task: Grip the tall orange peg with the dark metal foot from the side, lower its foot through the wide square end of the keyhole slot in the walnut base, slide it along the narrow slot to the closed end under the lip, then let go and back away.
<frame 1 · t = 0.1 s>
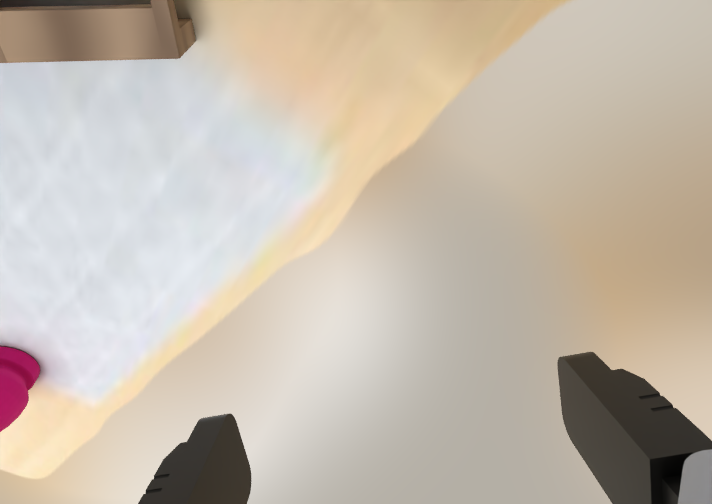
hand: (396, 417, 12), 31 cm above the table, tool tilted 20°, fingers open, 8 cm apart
pepper mill: (11, 363, 54), on the table
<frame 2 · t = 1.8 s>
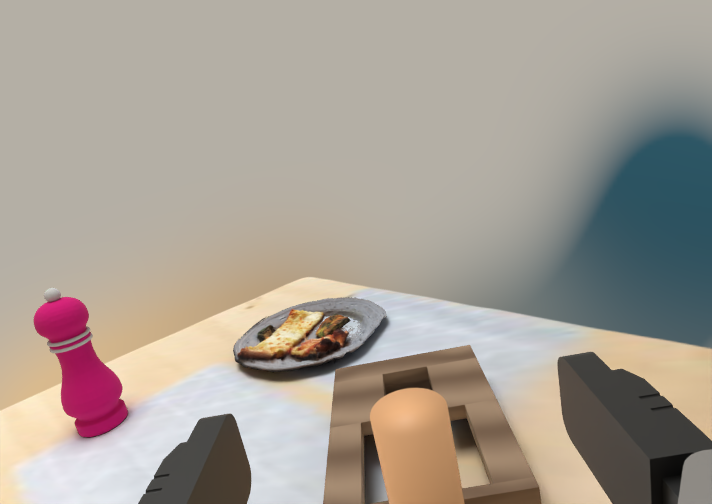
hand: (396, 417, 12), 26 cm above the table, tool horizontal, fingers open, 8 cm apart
keyhole base: (420, 457, 46), on the table
pepper mill: (104, 423, 65), on the table
food plate: (312, 341, 78), on the table
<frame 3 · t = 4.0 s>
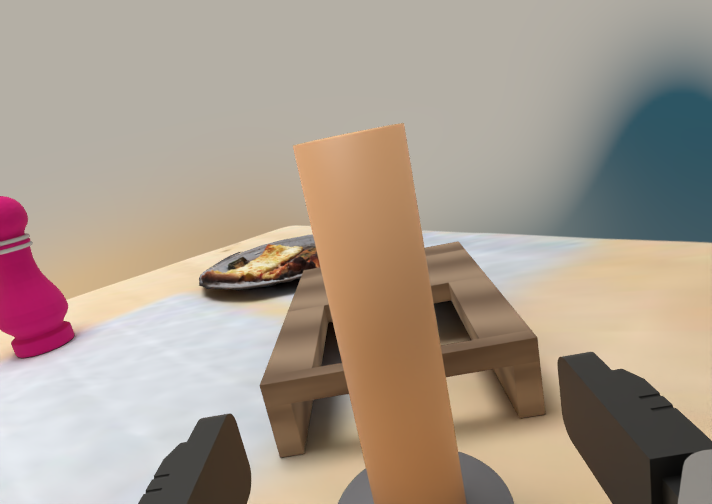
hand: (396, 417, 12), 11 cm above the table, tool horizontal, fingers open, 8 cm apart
keyhole base: (396, 350, 39), on the table
pepper mill: (47, 346, 58), on the table
food plate: (287, 271, 70), on the table
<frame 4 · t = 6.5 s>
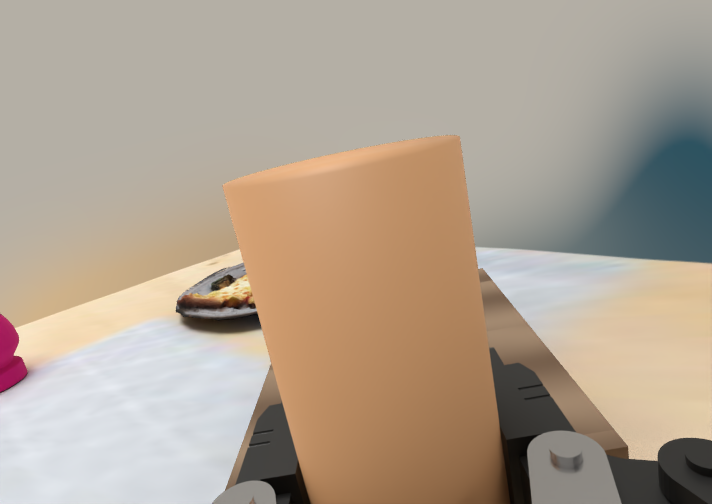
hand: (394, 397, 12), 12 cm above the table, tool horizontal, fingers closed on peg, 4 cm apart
keyhole base: (409, 417, 30), on the table
food plate: (278, 291, 61), on the table
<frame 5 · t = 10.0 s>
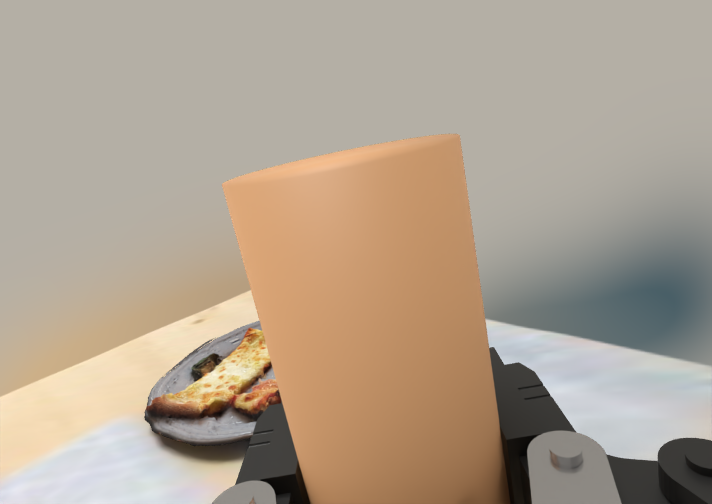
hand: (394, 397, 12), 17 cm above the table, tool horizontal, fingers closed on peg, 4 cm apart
food plate: (272, 380, 51), on the table
when the fingers open (12 cm above the table, at t = 13.8 s): peg stays where it is, resting in keyhole base.
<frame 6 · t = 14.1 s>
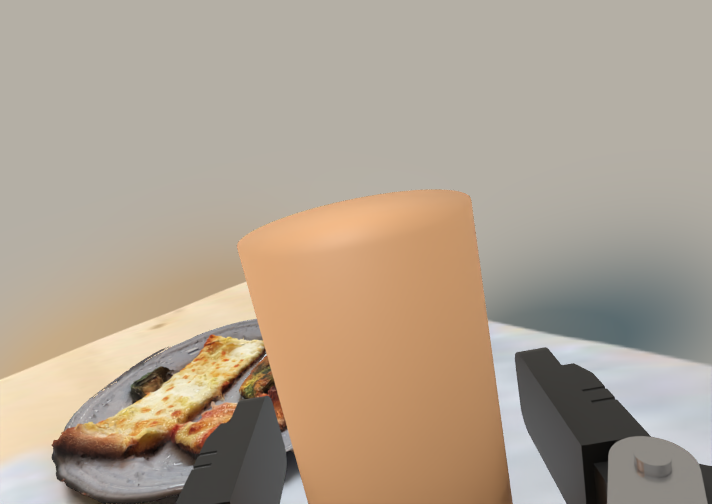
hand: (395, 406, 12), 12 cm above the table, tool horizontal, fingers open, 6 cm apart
food plate: (232, 403, 39), on the table
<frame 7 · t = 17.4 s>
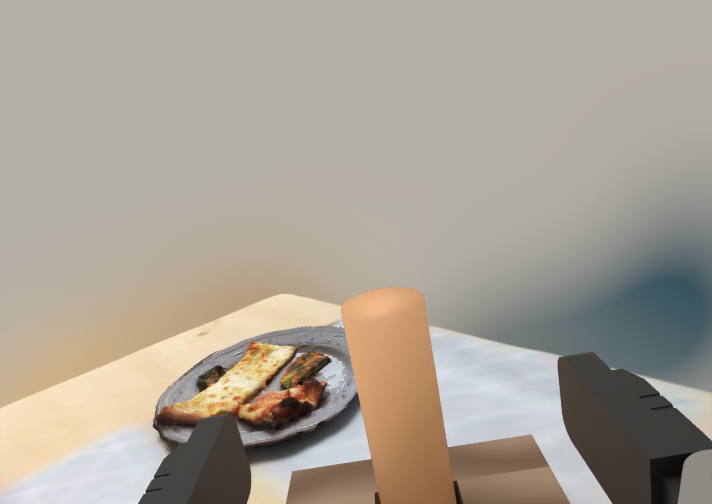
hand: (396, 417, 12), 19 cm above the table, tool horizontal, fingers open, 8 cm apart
food plate: (274, 392, 53), on the table
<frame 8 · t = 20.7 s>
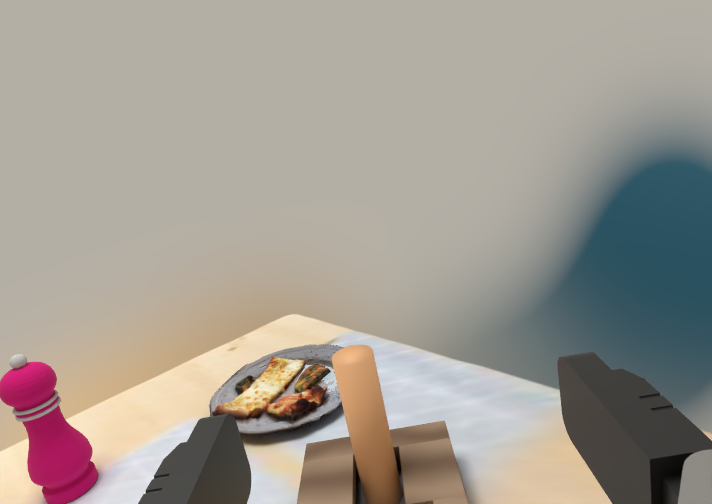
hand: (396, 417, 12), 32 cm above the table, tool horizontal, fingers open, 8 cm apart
pepper mill: (73, 488, 64), on the table
food plate: (290, 394, 76), on the table
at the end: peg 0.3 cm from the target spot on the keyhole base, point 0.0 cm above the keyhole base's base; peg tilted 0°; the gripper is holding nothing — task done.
